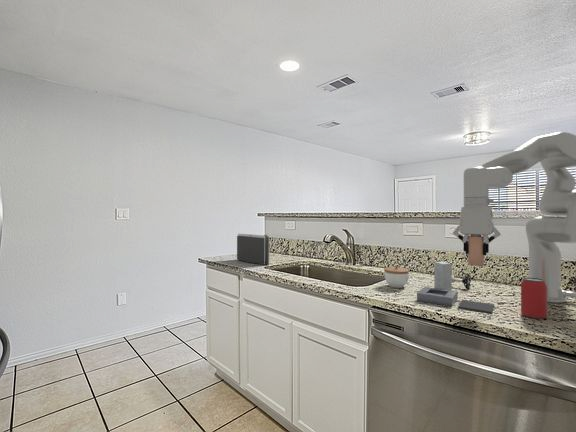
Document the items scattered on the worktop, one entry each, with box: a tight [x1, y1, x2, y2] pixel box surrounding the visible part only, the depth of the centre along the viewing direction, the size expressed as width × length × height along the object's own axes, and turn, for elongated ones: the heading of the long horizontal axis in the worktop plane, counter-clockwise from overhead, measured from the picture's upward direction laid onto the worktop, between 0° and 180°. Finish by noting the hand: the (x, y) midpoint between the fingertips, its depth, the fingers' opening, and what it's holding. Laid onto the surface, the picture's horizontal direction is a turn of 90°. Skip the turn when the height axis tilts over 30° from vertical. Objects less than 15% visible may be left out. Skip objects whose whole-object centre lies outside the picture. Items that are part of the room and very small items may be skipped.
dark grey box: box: [236, 232, 270, 265], centre depth 217 cm, size 35×22×20 cm, turn 45°
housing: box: [416, 286, 458, 307], centre depth 119 cm, size 12×12×3 cm
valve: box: [452, 273, 472, 290], centre depth 139 cm, size 7×7×12 cm
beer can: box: [520, 276, 548, 320], centre depth 100 cm, size 7×7×12 cm
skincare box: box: [433, 261, 453, 290], centre depth 132 cm, size 6×4×12 cm
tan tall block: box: [467, 235, 485, 267], centre depth 109 cm, size 5×5×11 cm
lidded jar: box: [383, 265, 410, 289], centre depth 141 cm, size 11×11×9 cm
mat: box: [457, 299, 495, 314], centre depth 110 cm, size 10×10×1 cm
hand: (475, 253), depth 109 cm, fingers closed on tan tall block, 4 cm apart
